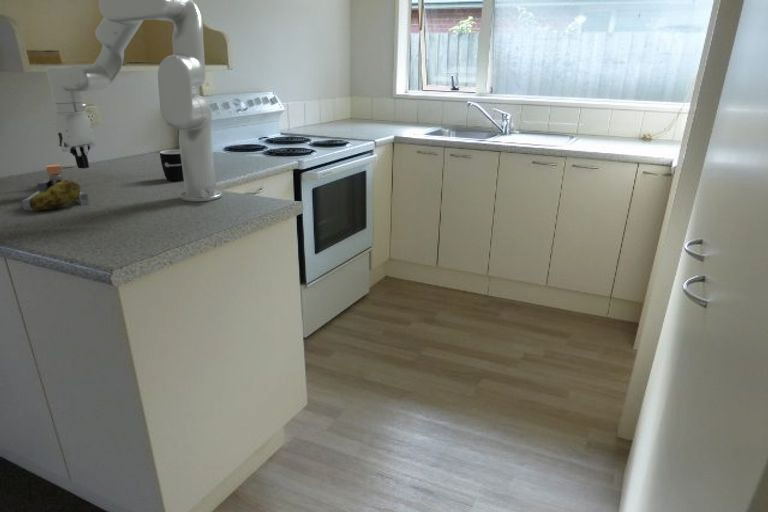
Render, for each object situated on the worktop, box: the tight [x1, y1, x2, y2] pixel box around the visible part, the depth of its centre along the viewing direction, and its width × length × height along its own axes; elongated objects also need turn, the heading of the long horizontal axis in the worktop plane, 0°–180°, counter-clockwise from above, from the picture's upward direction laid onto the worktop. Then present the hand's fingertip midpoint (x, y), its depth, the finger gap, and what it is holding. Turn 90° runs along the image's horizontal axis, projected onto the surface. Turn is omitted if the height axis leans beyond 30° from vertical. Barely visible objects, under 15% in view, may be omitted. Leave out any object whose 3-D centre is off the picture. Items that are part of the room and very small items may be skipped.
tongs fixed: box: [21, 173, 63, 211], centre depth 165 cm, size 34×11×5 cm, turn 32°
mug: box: [159, 149, 184, 183], centre depth 188 cm, size 12×9×10 cm
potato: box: [29, 180, 82, 212], centre depth 151 cm, size 8×13×8 cm, turn 109°
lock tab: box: [45, 164, 62, 175], centre depth 174 cm, size 3×4×2 cm
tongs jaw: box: [55, 176, 91, 206], centre depth 164 cm, size 23×2×5 cm, turn 47°
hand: (83, 167), depth 168 cm, fingers closed
